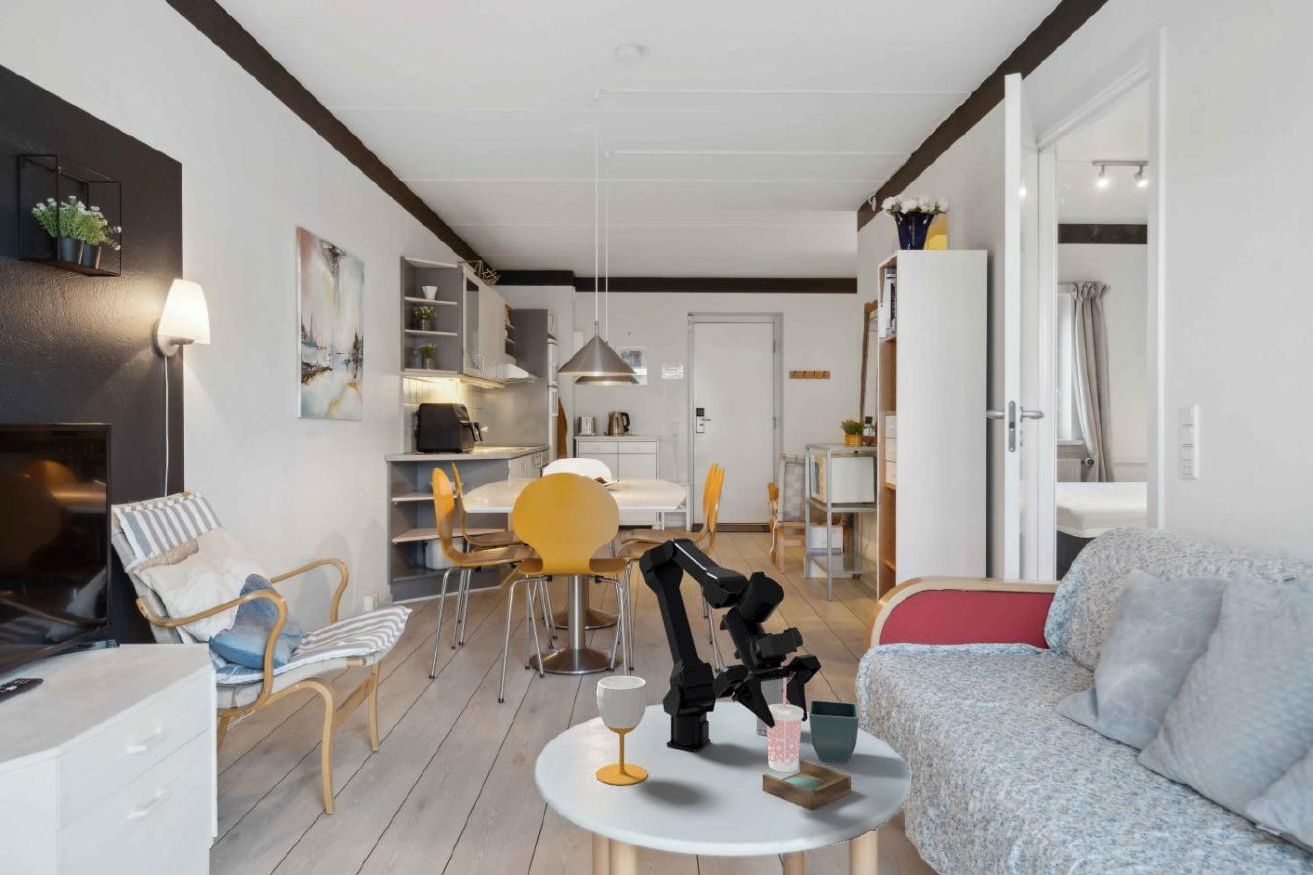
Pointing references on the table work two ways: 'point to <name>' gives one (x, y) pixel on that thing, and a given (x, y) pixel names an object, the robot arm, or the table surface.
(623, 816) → the table surface
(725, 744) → the table surface
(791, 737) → the beverage cup
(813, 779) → the wooden tray
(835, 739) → the flower pot
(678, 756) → the table surface
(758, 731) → the skincare box
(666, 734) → the table surface
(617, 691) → the cup
